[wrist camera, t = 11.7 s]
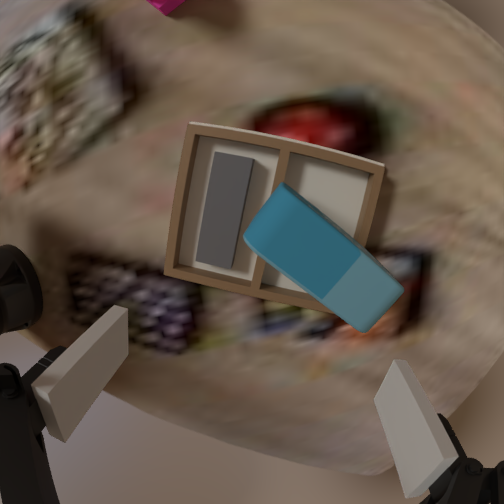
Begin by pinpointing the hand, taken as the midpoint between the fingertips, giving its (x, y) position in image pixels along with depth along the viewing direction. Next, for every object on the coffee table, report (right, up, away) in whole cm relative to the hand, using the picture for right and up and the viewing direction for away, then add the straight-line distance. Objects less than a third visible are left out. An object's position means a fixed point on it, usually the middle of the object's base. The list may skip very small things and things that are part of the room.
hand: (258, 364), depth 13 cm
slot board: (+2, +9, +20) cm, 22 cm away
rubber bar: (-3, +10, +20) cm, 22 cm away
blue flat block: (+6, +7, +18) cm, 20 cm away
